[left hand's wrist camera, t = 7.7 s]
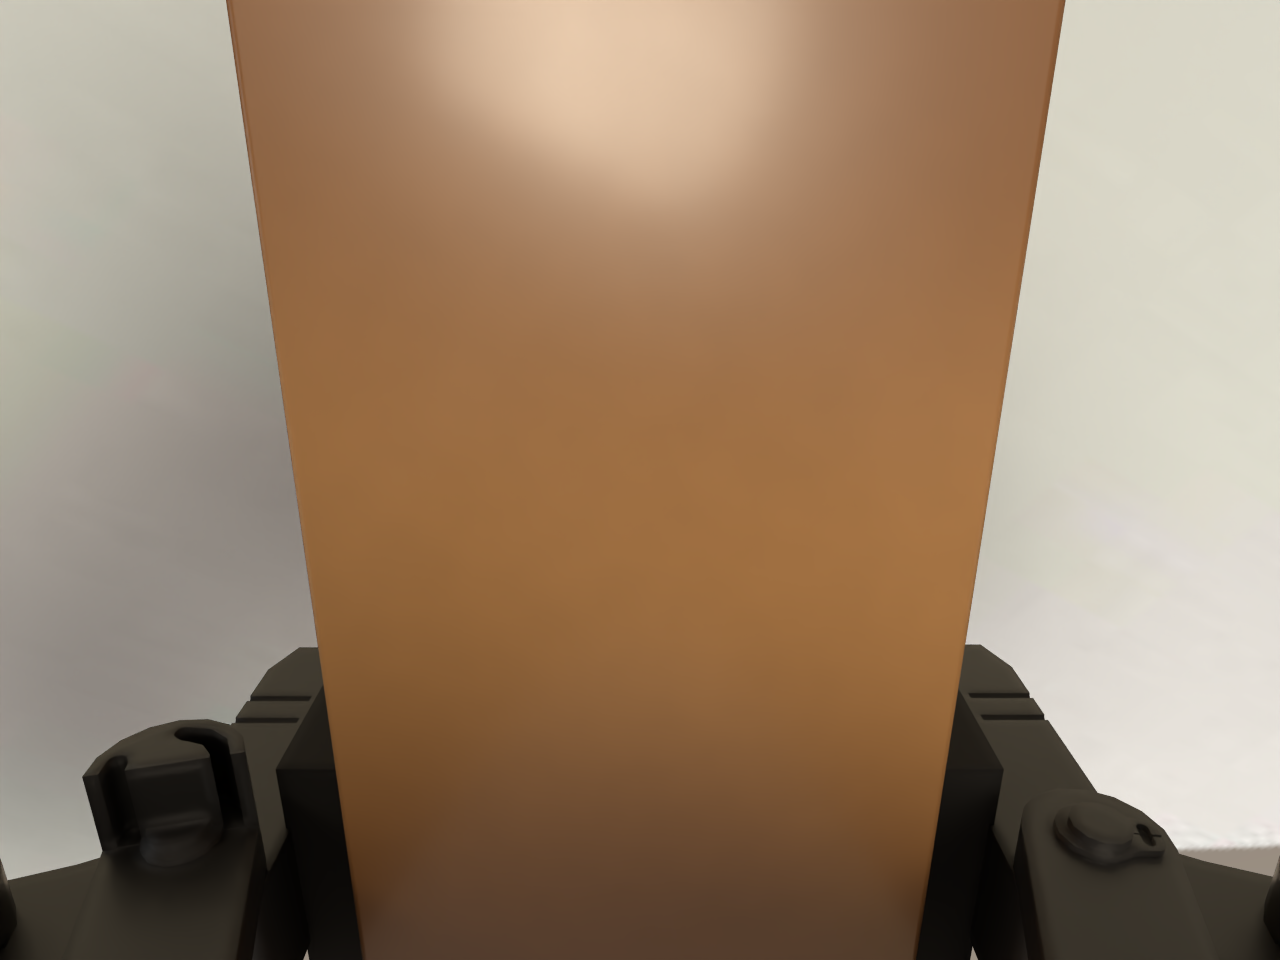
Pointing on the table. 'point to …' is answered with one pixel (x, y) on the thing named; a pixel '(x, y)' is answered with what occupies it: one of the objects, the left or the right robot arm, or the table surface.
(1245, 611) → the table surface
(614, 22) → the post
